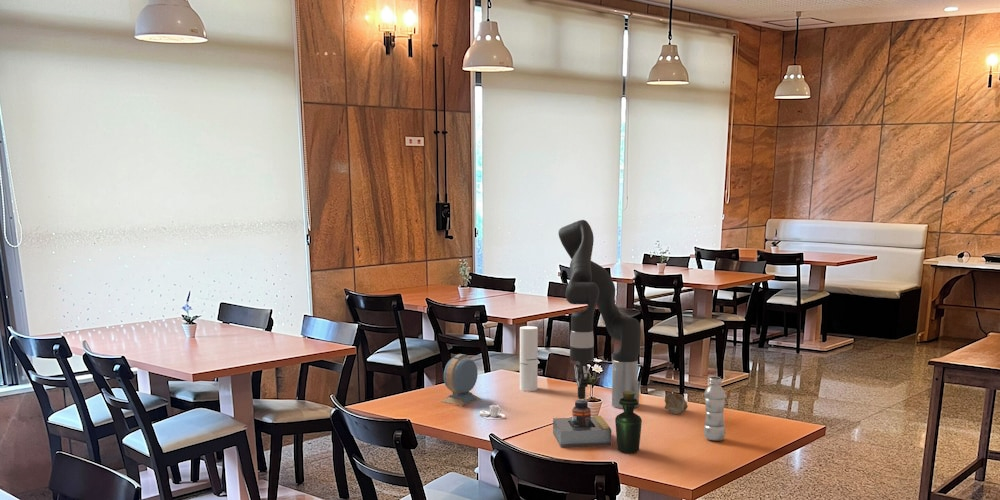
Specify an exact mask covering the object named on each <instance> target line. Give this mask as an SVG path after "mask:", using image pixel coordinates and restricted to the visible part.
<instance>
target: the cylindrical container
mask: <svg viewBox="0 0 1000 500" xmlns="http://www.w3.org/2000/svg"><path fill="white" fill-rule="evenodd" d="M538 328H539V327H537V326H531V325H525V326H520V327H519V390H520V391H523V392H535V390H536V391H537V390H538V377H539V375H538V362H539V361H538V360H539V359H538V353H539V352H538V349H539V348H538V345H539V344H538V343H539V341H538V340H539V339H538V338H539V336H538V335H539V334H538V332H539V331H538V330H539V329H538Z"/></svg>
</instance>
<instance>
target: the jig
mask: <svg viewBox="0 0 1000 500" xmlns="http://www.w3.org/2000/svg"><path fill="white" fill-rule="evenodd" d="M612 431H613V430H612V428H611V427H610V425H609V424H608V423H607V422H606V420H605V419H604V418H603V416H602V415H593V416H591V427H583V428H572V417H556V418H554V417H553V420H552V434H553V436H554V437H555V438H554V439H556V441H557V443H558V445H559V447H560V448H575V447H577V448H578V447H580V448H582V447H602V446H603V447H605V446H612Z"/></svg>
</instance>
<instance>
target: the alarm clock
mask: <svg viewBox="0 0 1000 500" xmlns="http://www.w3.org/2000/svg"><path fill="white" fill-rule="evenodd" d="M478 374H479V373H478V367H477V364H476V363H475V362H474V360H473V359H471V358H470V357H469V356H468V355H467V354H462V353H458V354H456V355H455V356H454V357H452V358H450V359H449V360H448V361H447V363H446V365H445V368H444V371H443V382H444V385H445V387H446V388H447V389H448V390H449V391H451V392H452V393H451V394H449V396H446V398H444V399H442V400H441V401H440V402H441V403H445V404H449V405H450V404H451V405H454V404H455V406H459V405H462V406H465V405H467V404H470V403H473V402H475V401H476V402H477V401H479V400H481V397H479V396H478V395H475V394H473V393H472V392H470V391H471V390H472V389H474V387H475V385H476V383H477V380H478ZM464 404H465V405H464Z"/></svg>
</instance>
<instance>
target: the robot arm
mask: <svg viewBox="0 0 1000 500" xmlns="http://www.w3.org/2000/svg"><path fill="white" fill-rule="evenodd" d="M558 237H559V240H560V242H561V244H562V246H563V248H564V250H565V251H566V253H567V255H568V256H569V258H570V259H571V260H570V263H569V281H568V283H567V285H566V289H565V299H566V301H567V303H569V304H571V305H586V307H585V309H583V310H579V311H574V312H572V313H571V317H570V335H569V359H570V360H571V361H574V362H575V364H574V366H573V369H574V377H575V384H576V387H577V398H578V400H586V388H587V387H588V384H589V380H590V377H591V376H590V375H591V374H590V373H589V372H590V366H589V365H588V362H591V361H593V360H594V357H595V356H594V355H595V352H594V350H595V346H594V345H595V338H594V317H595V310H596V307H597V309H598V311H599V313H600V314H601V317H602V319H603V322H604V324H605V327H606V329H607V332H608V334H609V337H611V338H612V339H613V340H615V341H618V342H620V347H619V349H617V350H614V351H613V352H612V362H611V363H612V365H611V366H612V367H611V370H612V373H611V381H612V382H611V406H612V407H615V408H618V409H623V406H622V405H621V404H619V401H620V399H621V398H624V397H623V391H633V392H635V396H634V399H637V401H638V405H636V406H635V408H639V407H640V403H639V402H640V381H639V380H638V370H639V369H638V368H639V367H638V365H639V364H638V363H639V361H638V360H639V359H638V358H639V355H640V351H641V339H642V327H641V323H640V321H639V320H638V319H637V318H634V317H631V316H625V315H622V313H621V312H620V309H618V307H617V305H616V304H617V303H616V300H615V299H616V285H615V284H614V281H613V279H612V278H611V275H610V273H609V272H608V270H607V269H605V268H604V266H601V265H600V264H598V263H596V262H594V261H593V260H592V256H593V255H592V254H593V248H594V237H595V236H594V233H593V229H592V227H591V225H590V224H589V222H588V221H587V220H585V219H580V220H577V221H574V222H572V223H570V224H567V225H564V226H562V227H561V228H560V229H558Z"/></svg>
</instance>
